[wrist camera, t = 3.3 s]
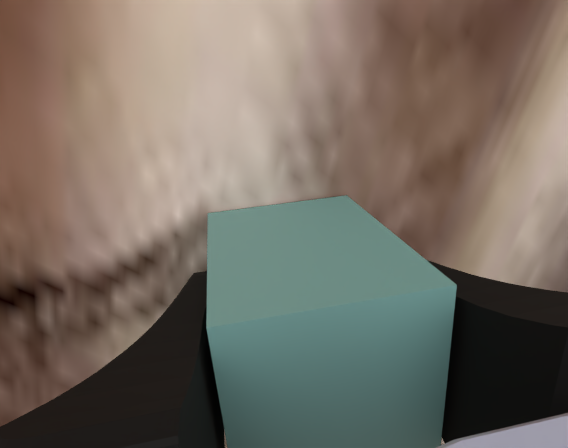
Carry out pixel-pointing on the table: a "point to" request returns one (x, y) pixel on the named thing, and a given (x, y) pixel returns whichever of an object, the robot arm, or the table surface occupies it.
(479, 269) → the table surface
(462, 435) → the robot arm
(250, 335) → the teal block
